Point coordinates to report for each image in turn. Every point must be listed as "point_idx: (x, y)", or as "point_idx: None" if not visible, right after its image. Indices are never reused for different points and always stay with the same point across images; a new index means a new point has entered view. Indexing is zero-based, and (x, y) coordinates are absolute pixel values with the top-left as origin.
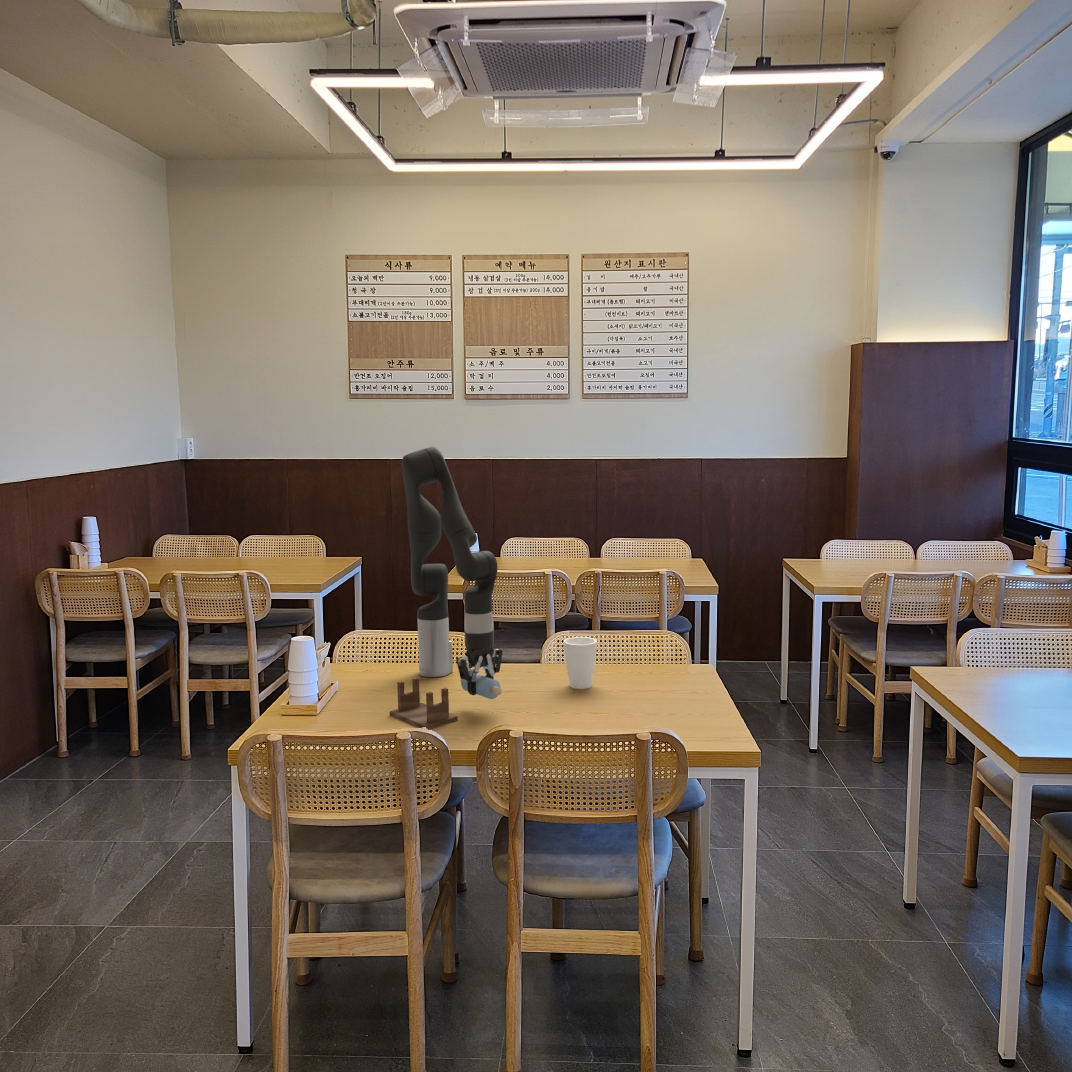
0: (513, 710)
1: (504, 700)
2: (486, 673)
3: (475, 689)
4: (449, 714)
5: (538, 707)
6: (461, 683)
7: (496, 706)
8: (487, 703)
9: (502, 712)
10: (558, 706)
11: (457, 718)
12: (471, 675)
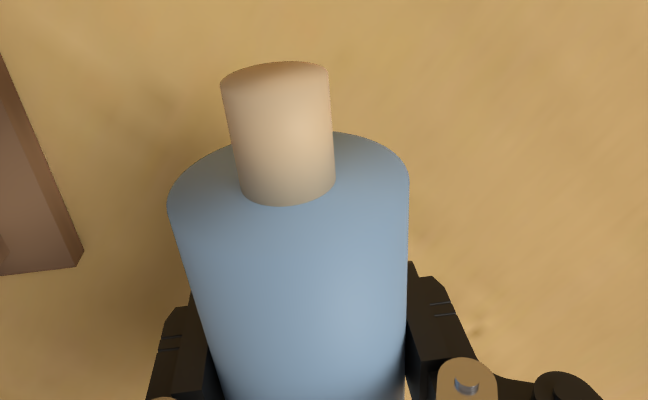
0: (449, 280)
1: (565, 103)
2: (436, 393)
3: None
4: (31, 207)
5: (568, 308)
6: (170, 198)
7: (434, 174)
8: (438, 83)
9: None
10: (633, 340)
11: (76, 260)
12: (260, 352)
